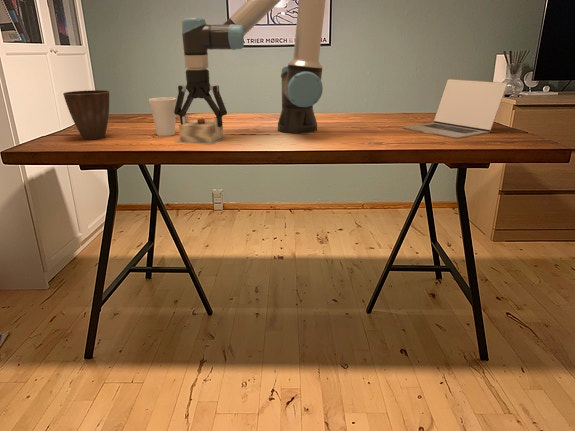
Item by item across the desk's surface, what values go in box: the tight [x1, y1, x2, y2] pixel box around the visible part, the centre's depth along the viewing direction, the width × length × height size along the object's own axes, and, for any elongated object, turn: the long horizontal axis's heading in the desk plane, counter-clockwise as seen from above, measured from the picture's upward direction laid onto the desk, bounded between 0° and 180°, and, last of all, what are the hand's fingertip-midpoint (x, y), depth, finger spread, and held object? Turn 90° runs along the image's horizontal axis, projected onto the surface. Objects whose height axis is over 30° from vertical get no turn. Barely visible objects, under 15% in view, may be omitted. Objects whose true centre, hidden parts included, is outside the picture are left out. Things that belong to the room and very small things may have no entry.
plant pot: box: [63, 89, 110, 140], centre depth 163 cm, size 15×15×16 cm
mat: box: [174, 135, 229, 145], centre depth 159 cm, size 14×14×1 cm
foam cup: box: [148, 96, 177, 137], centre depth 166 cm, size 10×9×13 cm
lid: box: [178, 118, 224, 143], centre depth 157 cm, size 11×11×7 cm
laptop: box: [401, 78, 508, 140], centre depth 168 cm, size 26×24×18 cm
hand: (202, 135), depth 158 cm, fingers closed on lid, 11 cm apart
